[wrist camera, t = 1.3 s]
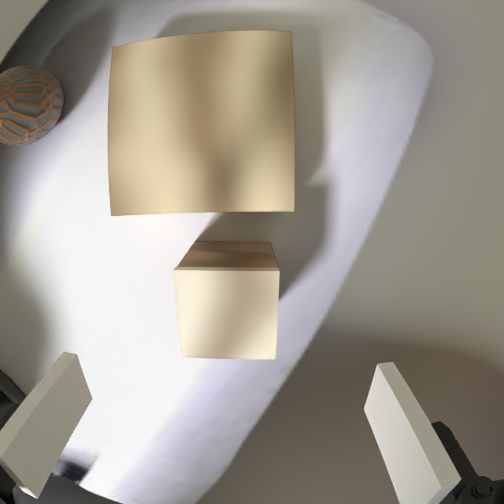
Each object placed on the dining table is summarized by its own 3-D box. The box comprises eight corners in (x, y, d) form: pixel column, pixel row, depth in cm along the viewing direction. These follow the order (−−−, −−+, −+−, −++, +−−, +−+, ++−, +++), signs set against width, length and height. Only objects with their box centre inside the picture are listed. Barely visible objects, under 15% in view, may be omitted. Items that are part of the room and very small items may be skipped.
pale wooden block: (198, 309, 26) (182, 356, 19) (194, 240, 24) (173, 270, 17) (269, 310, 26) (275, 359, 19) (271, 241, 24) (279, 271, 17)
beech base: (136, 206, 24) (110, 216, 19) (136, 65, 20) (112, 46, 15) (286, 202, 24) (295, 212, 19) (284, 55, 20) (292, 30, 15)
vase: (77, 65, 20) (18, 38, 11) (74, 137, 21) (8, 132, 13) (23, 86, 20) (-37, 73, 11) (21, 152, 21) (-44, 156, 13)
